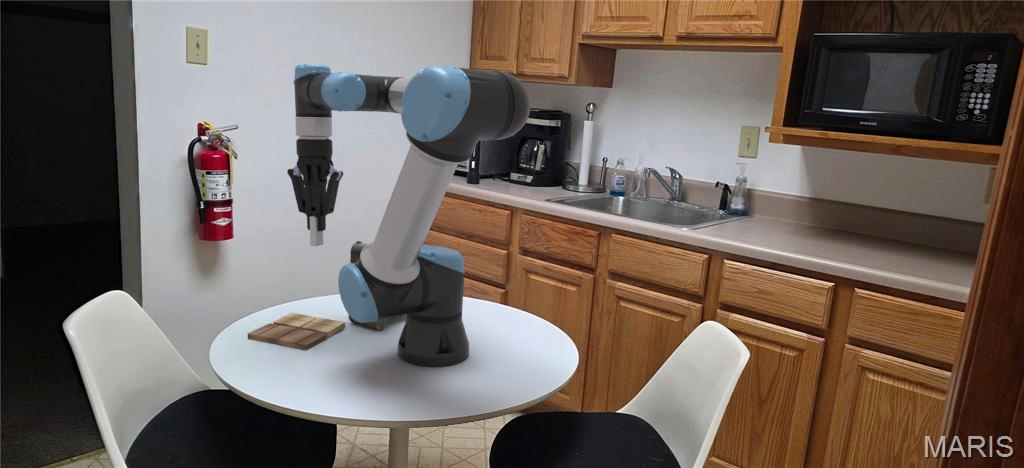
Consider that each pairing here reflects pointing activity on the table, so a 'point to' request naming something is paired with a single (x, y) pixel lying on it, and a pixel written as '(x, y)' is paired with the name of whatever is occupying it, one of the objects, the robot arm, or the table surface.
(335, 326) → the oak plank
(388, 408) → the table surface
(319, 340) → the walnut row
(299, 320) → the oak plank
